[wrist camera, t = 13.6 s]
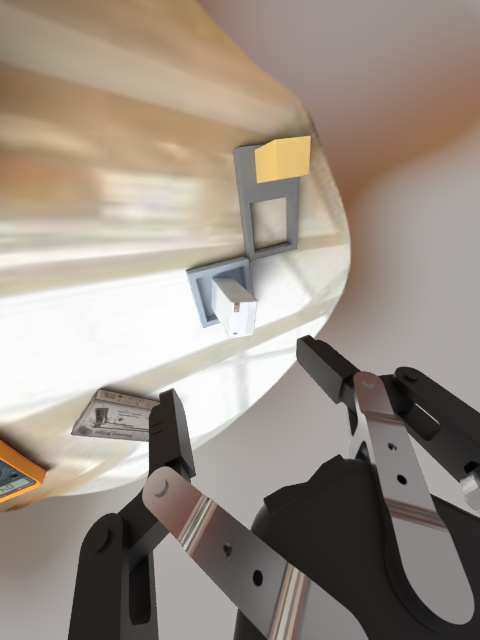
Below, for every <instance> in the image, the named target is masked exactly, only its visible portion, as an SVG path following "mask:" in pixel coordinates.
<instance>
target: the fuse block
mask: <svg viewBox="0 0 480 640" xmlns="http://www.w3.org/2000/svg"><path fill="white" fill-rule="evenodd" d="M310 140H311V136H304V137H294V138H284V139H275V140H273V141H271V142H269V143H268V144H263V145H254V146H245V147H238V148H236V149H234V150H233V153H234V161H235V170H236V178H237V186H238V195H239V203H240V212H241V220H242V229H243V237H244V246H245V254H246V258H247V259H248V260H250V261H251V260H255V259H259V258H263V257H267V256H270V255H274V254H278V253H282V252H286V251H290V250H294V249H297V223H298V177H299V176H305V175H309V163H310ZM283 197H287V243H284V244H280V245H276V246H272V247H268V248H264V249H260V250H255V251H254V242H253V231H252V221H251V210H250V203H255V202H261V201H266V200H272V199H277V198H283Z"/></svg>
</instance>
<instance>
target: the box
mask: <svg viewBox="0 0 480 640" xmlns="http://www.w3.org/2000/svg"><path fill="white" fill-rule="evenodd" d="M159 404H160V402H157V401H152V400H147V399H143V398H137V397H134V396H129V395H124V394H119V393H115V392H110V391H107V390H101V389H98V390H97V392H96V393H95V394H94V395H93V397H92V399H91V402H89V404H88V405H87V407H86V408H85V409H84V411H83V412H82V414H81V416H80V418H79V420H77V421H76V423H75V425H74V426H73V429H72V432H71V434H72V435H74V436H75V435H78V436H84V437H85V436H88V437H99V438H108V439H109V438H111V439H123V440H133V441H146V442H149V415H150V413H151V410H152V407H154V406H157V405H159Z"/></svg>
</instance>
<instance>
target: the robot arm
mask: <svg viewBox="0 0 480 640" xmlns="http://www.w3.org/2000/svg"><path fill="white" fill-rule="evenodd" d="M296 357H297V360H298V362H299V363H300V365H301V366H302V367H303V368H304V369H305V370H306V371H307V372H308V374H309V375H310V376H311V377H312V378H313V379H314V380H315V381H316V383H317V384H318V385H319V386H320V387H321V388H322V389H323V390H324V391H325V393H326V394H327V395H328V396H329V397H330V398H331V399H332V400H333V401H334V402H335V403H336V404H338V403H340V402H342V401H343V403H344V404H345V410H346V417H347V424H348V430H349V437H350V448H349V449H350V450H349V453H350V459H343V458H342V456H341V455H340V454H339V455H337V456H335V457H334V458H332V459H330V460H329V461H327V462H325V463H323V464H322V465H321V466H320V468H319V469H318V470H317V471H316V472H315V474H314V475H313V476H312V477H311V478H310V480H309V481H308V482H305V483H300V484H296V485H291V486H285V487H282V488H281V489H279V490H277V491H276V492H274V493H272V494H271V495H269V496H267V497H265V498H264V506H263V507H262V508H261V509H260V511H259V512H258V514H257V515H256V517H255V519H254V521H253V524H252V527H251V530H248V529H247V528H246V527H245V526H243V525H242V524H241V523H240V522H238V521H237V520H236V519H235V518H233V517H232V516H231V515H230V514H229V513H227V512H226V511H225V510H224V509H223V508H221V507H220V506H219V505H218V504H217V503H215V502H214V501H213V500H211V499H210V498H208V497H206V496H205V495H203V494H202V493H201V492H200V491H199V490H197V489H196V488H195V487H194V486H193V485H191V480H190V478H192V477H194V476H196V473H195V467H194V462H193V456H192V450H191V444H190V439H189V433H188V427H187V422H186V416H185V411H184V408H183V405H182V403H181V401H180V399H179V397H178V395H177V393H176V391H175V390H174V388H172V389H170V390H167V391H165V392H162V393H160V395H159V398H160V404H159V405H157V406H154V407H152V410H151V413H150V415H149V474H148V478H147V481H146V483H145V485H144V487H143V489H142V490H141V492H140V493H139V494H138V495H137V496H136V497H135V498H134V499H133V500H132V501H131V502H130V503H128V504H127V505H126V506H125V507H124V508H123V509H122V510H121V511H120V512H119V513H117V514H115V513H110V514H106V515H104V516H103V517H101V518H100V519H99V520H97V522H95V523H94V524H93V526H92V527H91V528H90V530H89V531H88V533H87V535H86V537H85V538H84V541H83V543H82V546H81V550H80V556H79V563H78V571H77V578H76V585H75V592H74V599H73V606H72V614H71V620H70V628H69V634H68V640H159V638H158V623H157V607H156V592H155V576H154V561H153V549H154V548H155V547H156V546H157V545H158V544H159V543H160V542H161V541H162V540H163V539H164V538H165V537H166V535H167V534H168V533H169V532H170V533H171V534H172V535H173V536H174V537H175V538H176V539H177V540H178V541H179V542H180V544H181V545H182V547H183V549H184V550H185V551H186V552H187V553H188V555H189V556H190V557H191V558H192V559H193V560H194V561H195V562H196V563H197V564H198V565H199V566H200V568H201V569H202V570H203V571H204V572H205V573H206V574H207V575H208V576H209V577H210V578H211V579H212V580H213V581H214V583H216V585H217V586H218V587H219V588H220V589H221V590H222V591H223V592H224V593H225V594H226V595H227V596H228V597H229V599H230V600H231V601H232V602H233V603H234V604H235V605H236V606H237V607H238V612H237V619H236V625H235V632H234V639H233V640H480V518H479V517H477V516H475V515H473V514H471V513H469V512H467V511H465V510H463V509H461V508H458V507H457V506H454V505H453V504H451V503H449V502H447V501H444V500H442V499H440V498H438V497H436V496H434V495H432V494H430V493H429V490H428V487H427V485H426V482H425V480H424V476H423V474H422V471H421V468H420V466H419V463H418V460H417V457H416V455H415V452H414V449H413V447H412V444H411V441H410V439H409V436H408V433H409V434H410V435H411V436H412V437H413V438H414V439H415V440H416V441H417V442H418V443H419V444H420V445H421V446H422V447H423V448H424V449H425V450H426V451H427V452H428V453H429V454H430V455H431V456H432V457H433V458H434V459H435V460H436V461H437V462H438V463H440V464H441V465H442V466H443V467H444V468H445V469H446V470H447V471H448V472H449V473H450V474H451V475H452V476H453V477H454V478H455V479H456V480H457V481H458V482H459V483H460V486H461V490H462V492H463V494H464V499H465V501H466V503H467V504H468V505H469V506H470V507H471V508H472V509H474V510H476V511H477V513H478V514H479V516H480V413H479V412H477V411H476V410H475V409H473V408H472V407H470V406H469V405H467V404H466V403H464V402H463V401H462V400H460V399H459V398H457V397H456V396H454V395H453V394H451V393H450V392H449V391H447V390H446V389H444V388H443V387H442V386H440V385H439V384H437V383H436V382H434V381H433V380H432V379H430V378H429V377H427V376H426V375H424V374H423V373H422V372H420V371H418V370H416V369H414V368H410V367H399V368H397V369H396V371H395V373H394V374H392V375H382V376H377V375H375V374H373V373H370V372H366V371H360V370H359V369H357V368H356V367H355V366H354V365H353V364H351V363H350V362H349V361H348V360H347V359H345V358H344V357H343V356H342V355H341V354H339V353H338V352H337V351H336V350H334V349H333V348H332V347H331V346H330V345H329V344H327V343H325V342H323V341H321V340H315V339H314V338H312V337H311V336H310V335H306V336H304V337H301V338H299V339H297V350H296ZM416 403H417V404H418V405H419V406H420V407H421V408H423V409H424V410H425V411H426V412H427V413H429V414H430V415H431V416H432V417H434V418H435V419H436V420H437V421H438V423H439V424H440V425H439V424H438V423H437V422H436V421H434V420H433V419H432V418H431V417H430V416H429V415H427V414H426V413H425V412H424V411H423V410H422V409H420V408H419V407H418V406H417V405H416ZM407 432H408V433H407Z"/></svg>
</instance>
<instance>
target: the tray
mask: <svg viewBox="0 0 480 640" xmlns="http://www.w3.org/2000/svg"><path fill="white" fill-rule="evenodd" d="M186 273H187V276H188V280H189V283H190V286H191V290H192V293H193V297H194V300H195V304H196V307H197V310H198V314H199V317H200V321H201V323H202V326H203V328H205V327H208V326H211V325H214V324H217V323H220V321H219V320H218V318H217V316H216V314H215V313H214V311H213V309H212V307H211V295H212V278H233V279H235V280H236V281H237V282H238V283H239V284H240V285H241V286H242V287H243V288H244V289H245V290H247V291H248V292H249V293H250V294H251V295H252V286H251V278H250V269H249V260H248V259H247V258H245V257H244V256H242V257H238V258H234V259H230V260H226V261H222V262H218V263H214V264H210V265H206V266H202V267H198V268H194V269H190V270H186ZM252 296H253V295H252Z"/></svg>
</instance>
